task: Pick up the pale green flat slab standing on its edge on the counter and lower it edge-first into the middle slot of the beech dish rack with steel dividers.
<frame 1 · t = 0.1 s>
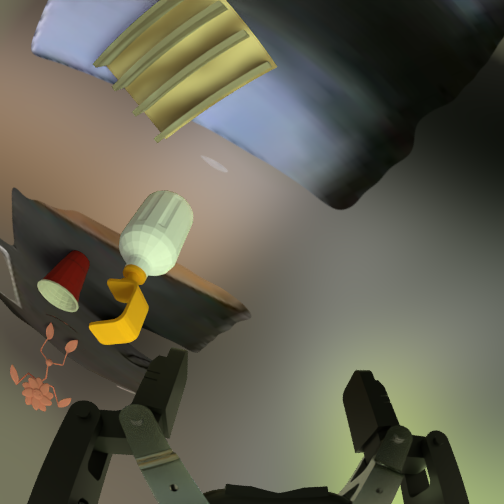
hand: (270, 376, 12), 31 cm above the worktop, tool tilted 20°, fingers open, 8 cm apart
figurine: (65, 329, 83), on the worktop
dish rack: (183, 57, 28), on the worktop
plastic cup: (81, 259, 55), on the worktop
soap bottle: (168, 212, 45), on the worktop
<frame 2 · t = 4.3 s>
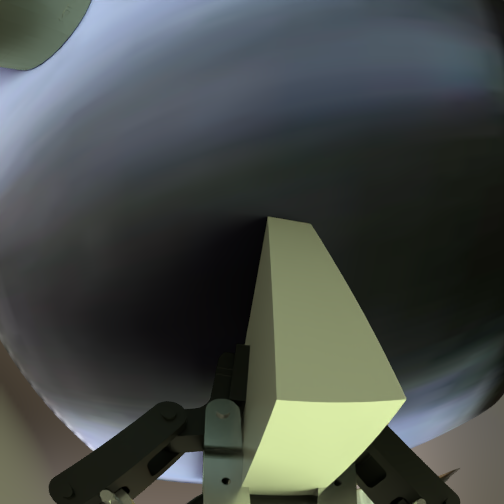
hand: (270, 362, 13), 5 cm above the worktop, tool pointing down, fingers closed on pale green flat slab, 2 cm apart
pale green flat slab: (270, 312, 17), on the worktop, touching gripper
soap bottle: (359, 492, 31), on the worktop
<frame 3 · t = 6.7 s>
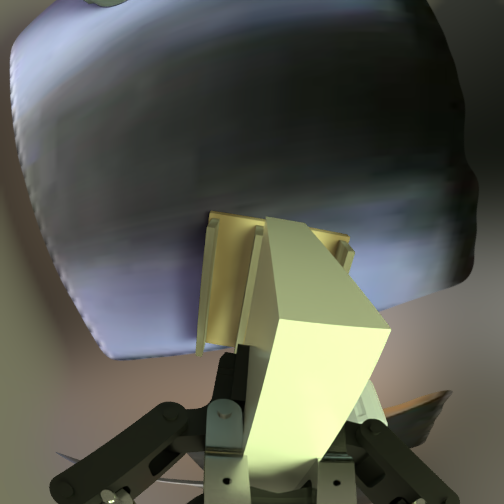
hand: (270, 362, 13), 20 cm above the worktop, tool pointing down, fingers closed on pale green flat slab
pale green flat slab: (268, 308, 18), point 15 cm above the worktop, tilted 5°, touching gripper
dish rack: (267, 291, 34), on the worktop
soap bottle: (347, 390, 42), on the worktop
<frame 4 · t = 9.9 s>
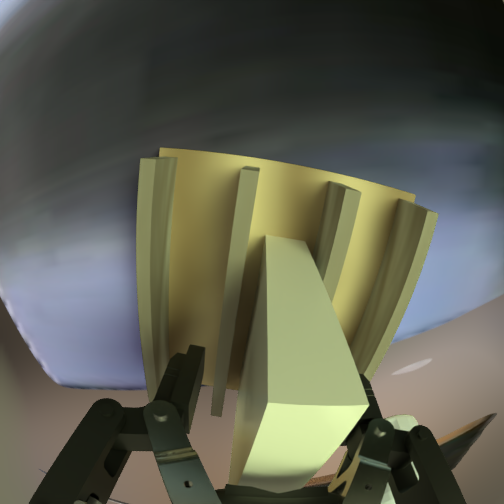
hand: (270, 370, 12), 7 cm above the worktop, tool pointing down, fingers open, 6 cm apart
pale green flat slab: (268, 321, 19), point 1 cm above the worktop, touching dish rack
dish rack: (269, 297, 19), on the worktop
soap bottle: (382, 432, 26), on the worktop
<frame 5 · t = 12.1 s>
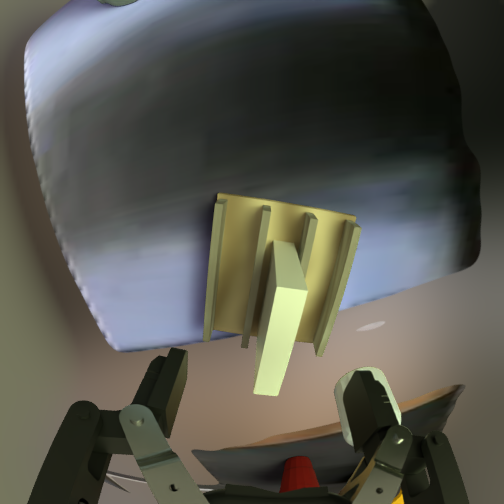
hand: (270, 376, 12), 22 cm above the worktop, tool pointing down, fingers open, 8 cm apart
pale green flat slab: (274, 288, 34), point 1 cm above the worktop, touching dish rack
dish rack: (275, 274, 34), on the worktop
plastic cup: (298, 460, 50), on the worktop
soap bottle: (358, 383, 40), on the worktop
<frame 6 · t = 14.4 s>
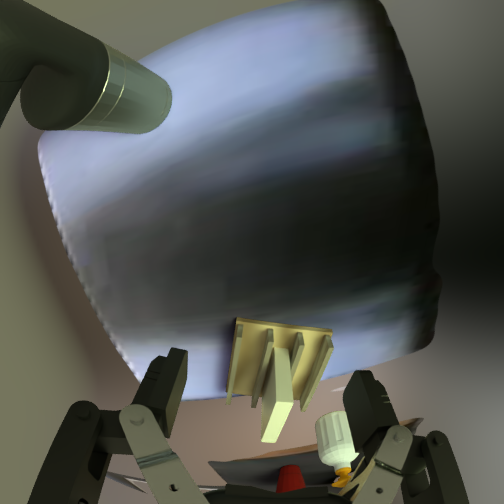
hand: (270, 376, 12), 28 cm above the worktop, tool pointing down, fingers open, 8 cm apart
pale green flat slab: (274, 372, 47), point 1 cm above the worktop, touching dish rack
dish rack: (274, 363, 47), on the worktop
plastic cup: (290, 467, 64), on the worktop
soap bottle: (333, 420, 54), on the worktop
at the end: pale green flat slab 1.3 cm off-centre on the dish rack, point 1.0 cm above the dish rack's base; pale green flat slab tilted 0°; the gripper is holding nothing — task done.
